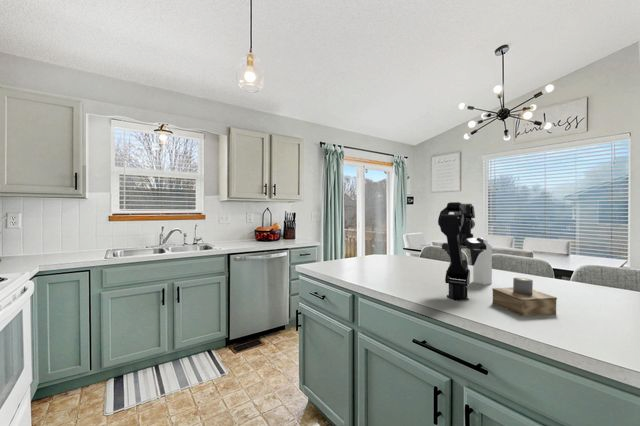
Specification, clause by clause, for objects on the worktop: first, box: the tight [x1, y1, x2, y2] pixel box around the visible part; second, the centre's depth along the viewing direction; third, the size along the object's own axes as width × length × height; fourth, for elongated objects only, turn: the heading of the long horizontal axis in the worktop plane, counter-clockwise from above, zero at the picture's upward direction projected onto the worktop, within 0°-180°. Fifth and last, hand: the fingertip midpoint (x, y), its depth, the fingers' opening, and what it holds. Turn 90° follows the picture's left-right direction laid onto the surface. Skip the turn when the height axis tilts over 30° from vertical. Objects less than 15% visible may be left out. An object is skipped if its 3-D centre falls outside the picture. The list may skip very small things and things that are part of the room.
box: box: [492, 290, 557, 317], centre depth 111 cm, size 14×14×5 cm
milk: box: [472, 239, 493, 286], centre depth 149 cm, size 6×6×22 cm
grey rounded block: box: [512, 277, 534, 295], centre depth 111 cm, size 6×6×5 cm
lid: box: [491, 287, 558, 302], centre depth 111 cm, size 14×14×1 cm
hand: (463, 265), depth 134 cm, fingers open, 9 cm apart
